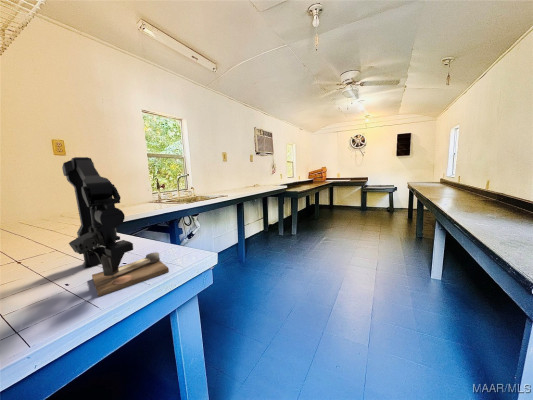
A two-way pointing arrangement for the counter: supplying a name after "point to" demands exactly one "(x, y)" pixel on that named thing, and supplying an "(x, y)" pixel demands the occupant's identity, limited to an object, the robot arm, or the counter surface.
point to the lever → (108, 271)
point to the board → (127, 277)
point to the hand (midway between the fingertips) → (110, 269)
